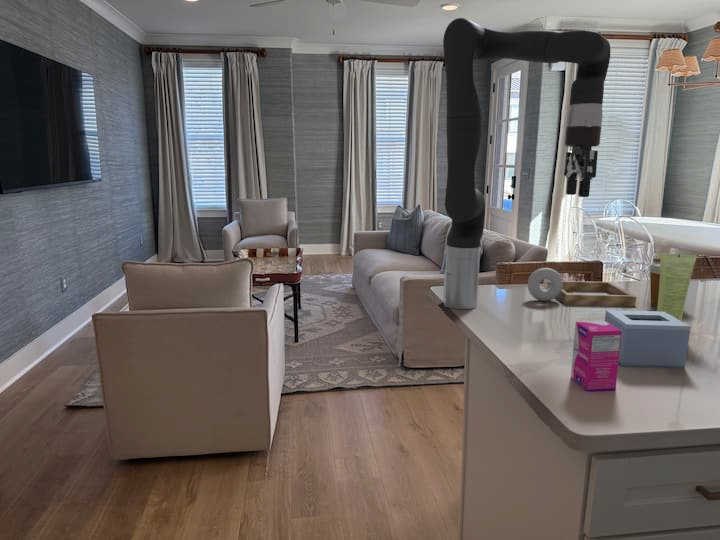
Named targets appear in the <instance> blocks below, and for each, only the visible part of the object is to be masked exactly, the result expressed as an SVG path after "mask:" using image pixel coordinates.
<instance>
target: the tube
mask: <svg viewBox="0 0 720 540" xmlns="http://www.w3.org/2000/svg"><path fill="white" fill-rule="evenodd" d="M697 258H698V257H697V255H696V254H683V253H682V254H680V253H679V254H678V253H666V252H660V253H659V263H660V283H659V297H658V307H656V309H657V310H656V311H659V312H666V313H667V314H669V315H671V316H673V317H675V318H677V319H678V320H680V321H682V320H683V314H684V310H685V304H686V301H687V295H688V292H689V291H688V290H689V286H690V283H691V279H692V274H693V271H694V267H695V265H696V264H695V263H696V261H697ZM682 322H683V321H682Z"/></svg>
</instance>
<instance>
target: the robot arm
mask: <svg viewBox="0 0 720 540" xmlns="http://www.w3.org/2000/svg"><path fill="white" fill-rule="evenodd" d="M442 45H443V46H442V47H443V57H444V66H445V76H446V77H445V78H446V120H445V122H446V157H447V158H446V159H447V160H446V161H447V177H446V186H445V187H446V188H445V195H444V197H445V199H444V207H445V208H444V209H445V212H446V214H447V216H448V217H449V218H450V219H451V226H450V230H449V232H448V233H447V236H446V247H445V248H446V250H445V251H446V252H445V270H444V274H443V291H442V292H443V293H442V295H443V297H442V303H443V306H444V307H445V308H450V309H456V310H472V309H476V308H477V306H478V295H479V294H478V291H479V275H480V273H479V272H480V258H481V257H480V256H481V255H480V254H481V242H482V241H481V240H482V238H483V235H484V226H485V217H486V200H485V196H484V195H483V193H482V192H481V191H480V190H479V189H478V188H476V182H475V181H476V180H475V179H476V177H475V174H476V173H475V172H476V171H475V170H476V168H475V167H476V163H477V158H478V155H479V151H480V147H481V143H482V142H481V141H482V136H483V111H482V110H483V109H482V106H481V101H480V97H479V93H478V89H477V87H476V83H475V79H474V77H475V76H474V61H479V60H480V61H481V60H489V59H490V60H492V59H504V60H505V59H507V60H508V59H509V60H516V61H517V60H518V61H523V62H524V61H525V62H530V63H531V62H533V63H545V64H558V63H561V62H562V63H571V64H577V71H576V78H575V80H573V81H572V84H571V88H570V95H569V107H568V111H567V115H566V116H567V118H566V126H565V127H566V128H565V138H564V139H565V140H564V146H565V147H568V148H569V147H571V148H572V149H571V151H566V153H565V162H564V172H563V176H564V177H565V178H566V191H565V194H566V195H568V196H569V195H570V196H571V195H573V196H574V195H576V194H578V197H580V198H588V197H589V196H590V190H591V181H592V180H593V178H596V177H597V168H598V167H597V165H598V154H599V153H598V150H594V149H592V147H599V146H600V143H601V133H602V124H603V123H602V122H603V102H604V92H605V81H606V79H607V78H606V77H607V74H608V69H609V66H610V61H611V43H610V41H609V40H608V39H607V38H606V37H605V36H604V35H602V34H601V33H600V32H598V31H595V30H587V29H576V30H565V31H560V30H559V31H558V30H548V29H545V30H544V29H528V30H527V29H526V30H518V31H505V32H504V31H498V30H493V29H489V28H486V27H482V26H481V25H480V24H478V23H476V22H474V21H472V20H470V19H467V18H464V17H459V18H455V19H453V20H452V21H451V22H450V23H448V25H447V27H446V29H445V31H444V34H443V40H442ZM578 178H579V185H578ZM577 187H578V192H577Z"/></svg>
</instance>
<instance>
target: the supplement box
mask: <svg viewBox="0 0 720 540" xmlns="http://www.w3.org/2000/svg"><path fill="white" fill-rule="evenodd" d="M621 334H622V331H621V330H619V329H618V328H616V327H614V326H612V325H611V324H609V323H607V322H605V320H595V321H593V320H592V321H576V322H575V325H574V335H573V336H574V337H573V338H574V339H573V346H572V347H573V349H572V358H571V369H570V370H571V372H570V380H571V381H573V382H574V383H576V384H577V385H578V386H579V387H580V388H582V389H583V390H584V391H585V392H610V391H611V392H612V391H613V392H615V391H616V389H617V382H618V381H617V380H618V379H617V378H618V373H619V372H618V371H619V364H618V363H619V353H620V343H621Z"/></svg>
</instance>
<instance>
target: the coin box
mask: <svg viewBox="0 0 720 540" xmlns="http://www.w3.org/2000/svg"><path fill="white" fill-rule="evenodd" d="M604 314H605V315H604V321H605V322H607V323H609V324H611V325H612V326H614V327H616V328H618V329H619V330H621V331H622V334H621V343H620V353H619V363H618V366H620V367H621V368H623V367H624V368H625V367H626V368H654V369H655V368H660V369H661V368H663V369H685V368H686V363H687V361H686V360H687V355H688V348H689V341H690V333H691V327H692V326H691V325H689V324H687V323H686V322H684V321H680V320H678V319H677V318H675V317H673V316H671V315H669V314H667V313H666V312H659V311H657V310H656V311H653V310H652V311H651V310H618V309H616V310H612V309H605V313H604Z"/></svg>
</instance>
